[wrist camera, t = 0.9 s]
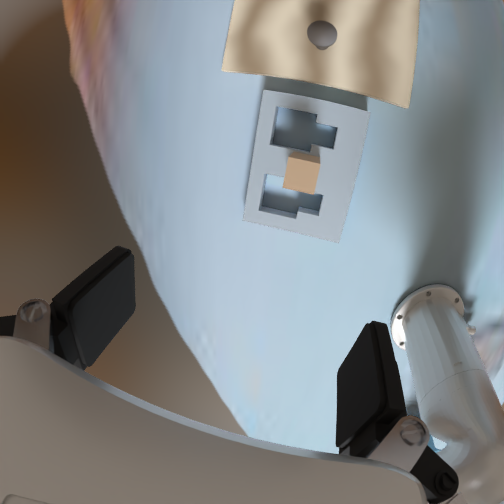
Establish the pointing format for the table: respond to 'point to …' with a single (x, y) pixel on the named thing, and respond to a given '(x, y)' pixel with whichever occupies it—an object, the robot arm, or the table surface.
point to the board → (345, 61)
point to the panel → (328, 172)
